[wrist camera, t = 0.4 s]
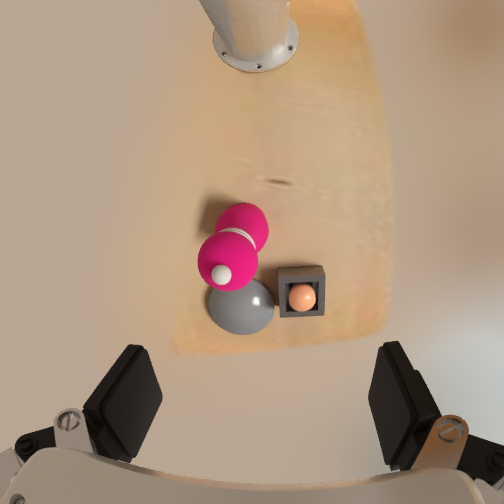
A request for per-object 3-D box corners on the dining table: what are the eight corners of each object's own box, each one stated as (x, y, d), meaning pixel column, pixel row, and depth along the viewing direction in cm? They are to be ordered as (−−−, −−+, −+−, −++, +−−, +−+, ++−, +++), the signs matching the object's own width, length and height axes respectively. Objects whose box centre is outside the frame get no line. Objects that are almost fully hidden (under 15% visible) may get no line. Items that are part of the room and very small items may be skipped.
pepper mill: (259, 252, 45) (245, 325, 26) (215, 236, 45) (172, 297, 26) (276, 209, 42) (274, 257, 24) (230, 192, 42) (191, 226, 23)
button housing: (278, 268, 45) (277, 277, 42) (322, 265, 45) (325, 274, 41) (280, 306, 48) (279, 317, 44) (321, 304, 47) (324, 315, 44)
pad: (205, 276, 47) (203, 279, 46) (272, 274, 46) (272, 276, 45) (214, 331, 51) (213, 334, 50) (275, 330, 49) (275, 334, 48)
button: (288, 281, 44) (288, 288, 42) (314, 280, 43) (315, 287, 41) (289, 304, 45) (289, 312, 43) (313, 303, 45) (315, 310, 42)
